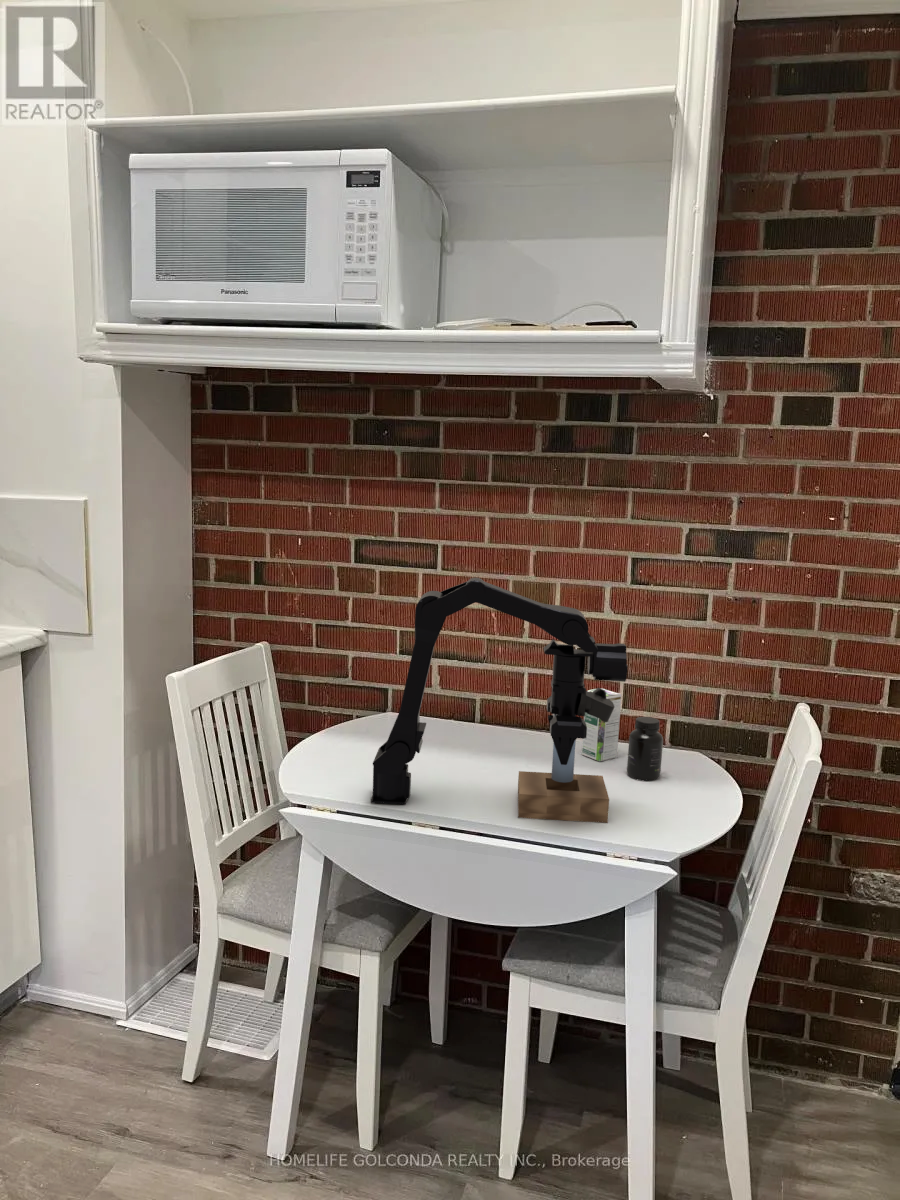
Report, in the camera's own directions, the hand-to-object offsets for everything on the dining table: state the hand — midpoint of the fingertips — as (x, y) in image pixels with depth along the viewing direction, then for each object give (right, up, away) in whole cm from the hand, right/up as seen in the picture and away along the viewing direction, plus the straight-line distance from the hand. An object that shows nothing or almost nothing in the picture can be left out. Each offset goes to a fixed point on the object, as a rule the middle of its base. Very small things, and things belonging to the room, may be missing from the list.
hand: (563, 760), depth 175 cm
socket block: (0, -9, +2) cm, 9 cm away
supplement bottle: (+19, -7, +20) cm, 29 cm away
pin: (0, -3, +1) cm, 4 cm away
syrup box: (+12, -5, +32) cm, 34 cm away
